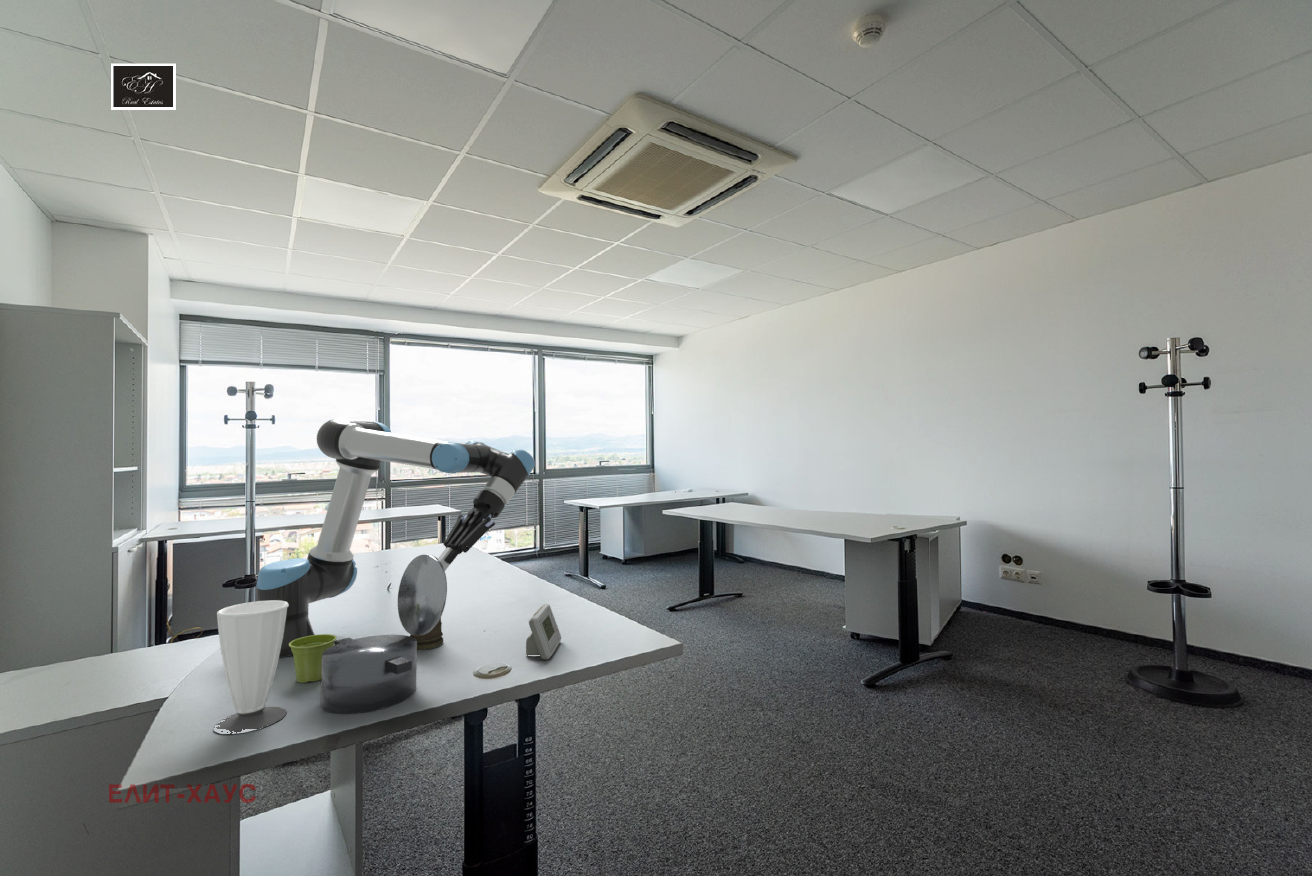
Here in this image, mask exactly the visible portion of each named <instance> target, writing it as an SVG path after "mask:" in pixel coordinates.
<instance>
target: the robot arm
mask: <svg viewBox="0 0 1312 876" xmlns="http://www.w3.org/2000/svg"><path fill="white" fill-rule="evenodd" d="M316 445H317V447H318V449H319V450H320V451H321V452H322V453H323V455H324V456H327V457H329V458H331V459H335V463H336V464H337V465H338V467H339V470H338V472H337V476H336V479H335V482H334V483H335V484H334V487H333V490H332V493H331V497H330V499H329V503H328V507H327V510H326V515H325V516H324V517H325V518H324V521H323V524H322V527H321V531H320V535H319V537H318V538H319V539H318V541H317V545H315V546H313V547H312V548H311V549H309V552H308V555H307V558H303V557H301V558H300V557H295V558H288V559H285V560H282V559H281V560H278V561H274V562H271V563H268V564H266V565H264V566H262V567H261V568H260V569H259V571H258V573H257V581H256V602H257V601H269V600H279V601H286V602H287V603H288V604H289V606H288V607H287V614H286V621H285V628H284V634H283V640H282V645H281V650H280V654H279V657H280V658H286V657H290V656H293V653H292V651H291V647H289V643H290V642H292V641H293V640H296V639H299V638H302V637H306V636H312V635H316V633H315V632H314V629H313V626H312V624H311V622H310V618H309V604H311V603H315V602H319V601H321V600H325V599H330V598H335V597H337V596H339V595H342V594H344V593H346V592H347V591H349V590H350V589H351V588H352V586H353V585H354V584H355V582H356V579H357V576H358V568H357V567H356V565H357V564H356V562H355V560H354V555H355V554H353V552H352V551H351V547H352V544H353V541H354V540H353V539H354V536H355V533H356V530H357V526H358V523H359V519H360V516H361V512H362V510H363V507H364V503H365V499H366V496H367V492H368V489H369V485H370V481H371V478H372V475H373V474H374V473H377V472H378V471H379V470H380V468H381V465H382V462H387V463H394V464H399V465H400V464H401V465H407V466H413V467H419V468H424V469H425V468H426V469H431V470H437V471H438V472H441V473H445V474H458V473H459V474H460V473H462V474H463V473H466V474H467V473H480V474H482V475H483V474H484V475H486V476H488V477H490V478H489V480H488V481H487V482H486V483H485V485H484V486H483V487H482V490H480V491H479V492H478V494H477V495H475V497H474V499H473V500H472V504H473V507H472V508H471V510H469V511H468V512H467V514H466V515H463V514H459V515H458V516H457V519H456V522H455V524H454V525H453V527H452V529H451V530H450V531H449V534H448V535H447V536H446V538H445V540H444V541H443V543H442V545H443V546H444V547H445V548H444V551H442V552H441V554H440V556H439V557H437V558H438V559H439V561H440V562H441V564H442V565H443V568H444V570H445V571H447V569H448V568H449V567H450V566H451V564H452V563H453V562H454V560H455V559H456V558H457V557H458V556H459V555H460V554H462V553H464V554H465V553H467V552H469V550H471V548H472V547H473V546H474V545H476V543H477V542H478V541H479V540H480V539H481V538H482V537H483V536H484V535H485V534H486V533H487V532H488V531H489V530H490V529H491V528H492V527H494V526H495V525H496V522H495V521H494V520H493V519H496V518H499V515H500V514H502V512H503V510H504V509H505V506H506V505H508V503H509V502H510V501H511V500H512V498H513V496H514V495H515V494H516V492H517V491H518V490H519V488H520V487H521V486H522V484H523V483H524V482H525V481H526V480H527V479H528V478H529V476H530V474H531V472H532V471H533V469H534V468H535V466H536V463H535V462H536V461H535V459H534V458H533V456H532V455H531V454H530V453H529V452H528V451H526V450H524V449H521V448H515V449H514V450H512V451H511V452H510V453H507V452H504V451H501V450H499V449H497V448H494V447H491V445H490V446H489V445H487V444H485V443H484V442H479V441H476V440H472V439H471V440H468V442H464V443H460V442H459V443H458V442H452V441H447V440H445V441H444V440H439V439H438V440H437V439H431V438H426V437H419V436H413V435H406V434H405V435H404V434H401V433H399V434H398V433H393V432H392V431H391V429H390V428H389V426H387V425H386V424H384V423H382V422H378V421H374V420H370V419H359V418H358V419H357V418H347V417H337V418H336V417H335V418H333V419H330V420H327V421H326V422H323V424H322V425H321V426H320V427H319V429H318V431H317V433H316Z"/></svg>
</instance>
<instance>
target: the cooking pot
mask: <svg viewBox="0 0 1312 876" xmlns="http://www.w3.org/2000/svg"><path fill="white" fill-rule="evenodd" d="M417 653H418V650H417V640H416V639H415V638H413V637H410V635H405V634H381V635H379V634H378V635H371V636H370V635H369V636H364V637H359V638H355V639H353V638H351V637H345V638H342V639H338V640H337V639H336V640H335V641H334V645H333V646H332V647H330V648H328V649H327V650H325V651H324V652H323V653H322V676H321V681H320V684H321V688H320V707H321V709H323V710H324V711H325V712H327V713H331V714H338V715H352V714H353V715H354V714H362V713H369V712H374V711H379V710H383V709H386V708H389V707H393V706H394V705H397V704H400V703H401V702H403V701H405V700H407V699H409V698H410V697H411V696H413V695H414V693H416V690H417V668H418V667H417V665H418V664H417V663H418V662H417V658H418V657H417V656H418V654H417Z"/></svg>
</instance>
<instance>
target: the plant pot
mask: <svg viewBox="0 0 1312 876" xmlns="http://www.w3.org/2000/svg"><path fill="white" fill-rule="evenodd" d="M335 641H337V636H336V635H335V634H330V633H329V634H328V633H324V634H323V633H322V634H315V635H312V636H306V637H302V638H299V639H296V640H293V641H292V642H290V643H289V647H291V651H292V653H293V655H292V656H293V664H294V672H295V673H294V674H295V681H296V682H298V683H301V684H305V683H308V682H318V681H320V680H321V676H322V653H323V652H324V651H325V650H327V649H328V648H330V647H332V646H334V645H335Z"/></svg>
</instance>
